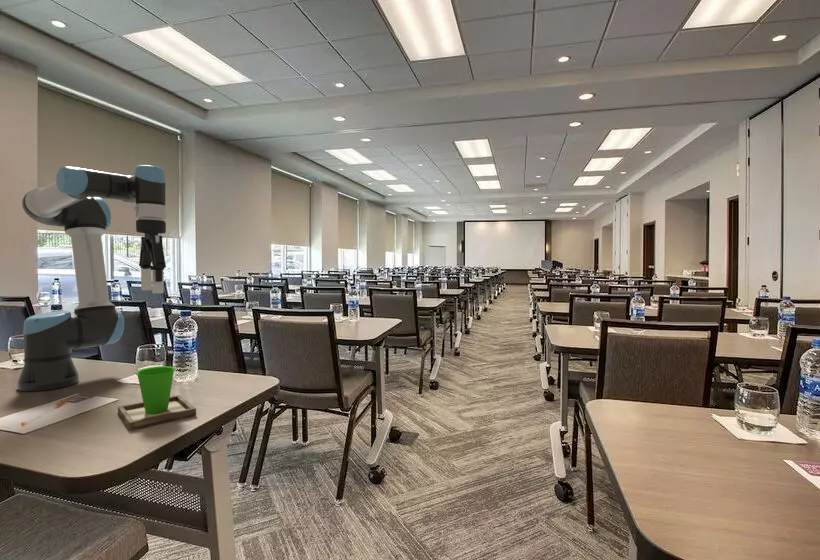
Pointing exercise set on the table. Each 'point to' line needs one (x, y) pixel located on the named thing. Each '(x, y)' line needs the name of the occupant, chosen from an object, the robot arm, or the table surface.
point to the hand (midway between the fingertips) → (152, 291)
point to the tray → (139, 418)
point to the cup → (156, 388)
